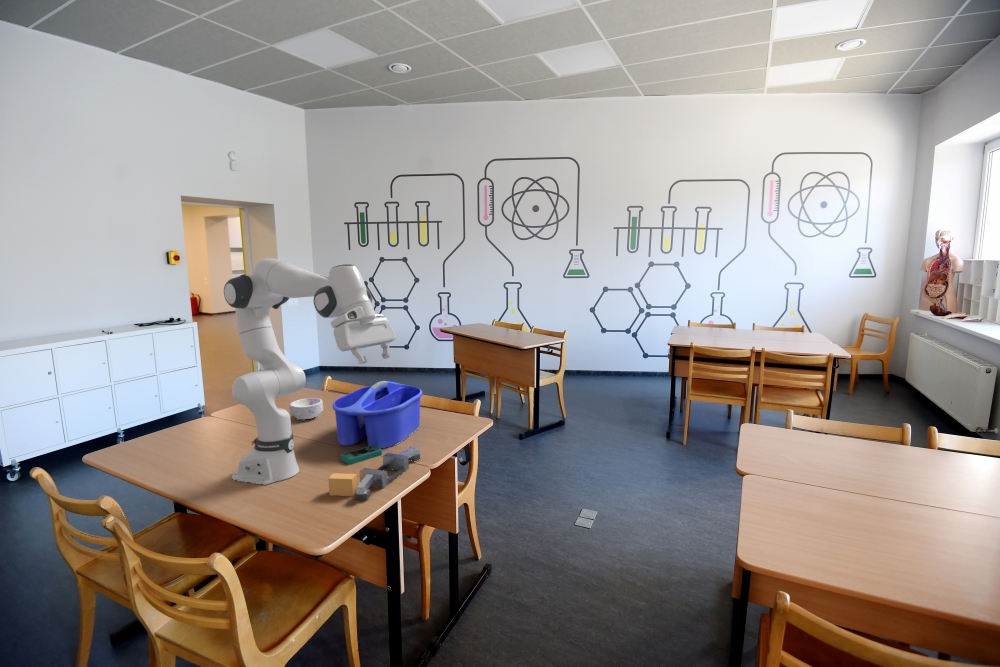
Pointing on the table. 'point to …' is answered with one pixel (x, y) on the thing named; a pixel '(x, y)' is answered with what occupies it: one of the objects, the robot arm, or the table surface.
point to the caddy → (378, 414)
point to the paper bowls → (306, 408)
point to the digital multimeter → (361, 454)
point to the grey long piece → (379, 476)
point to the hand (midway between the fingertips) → (375, 360)
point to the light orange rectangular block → (342, 484)
